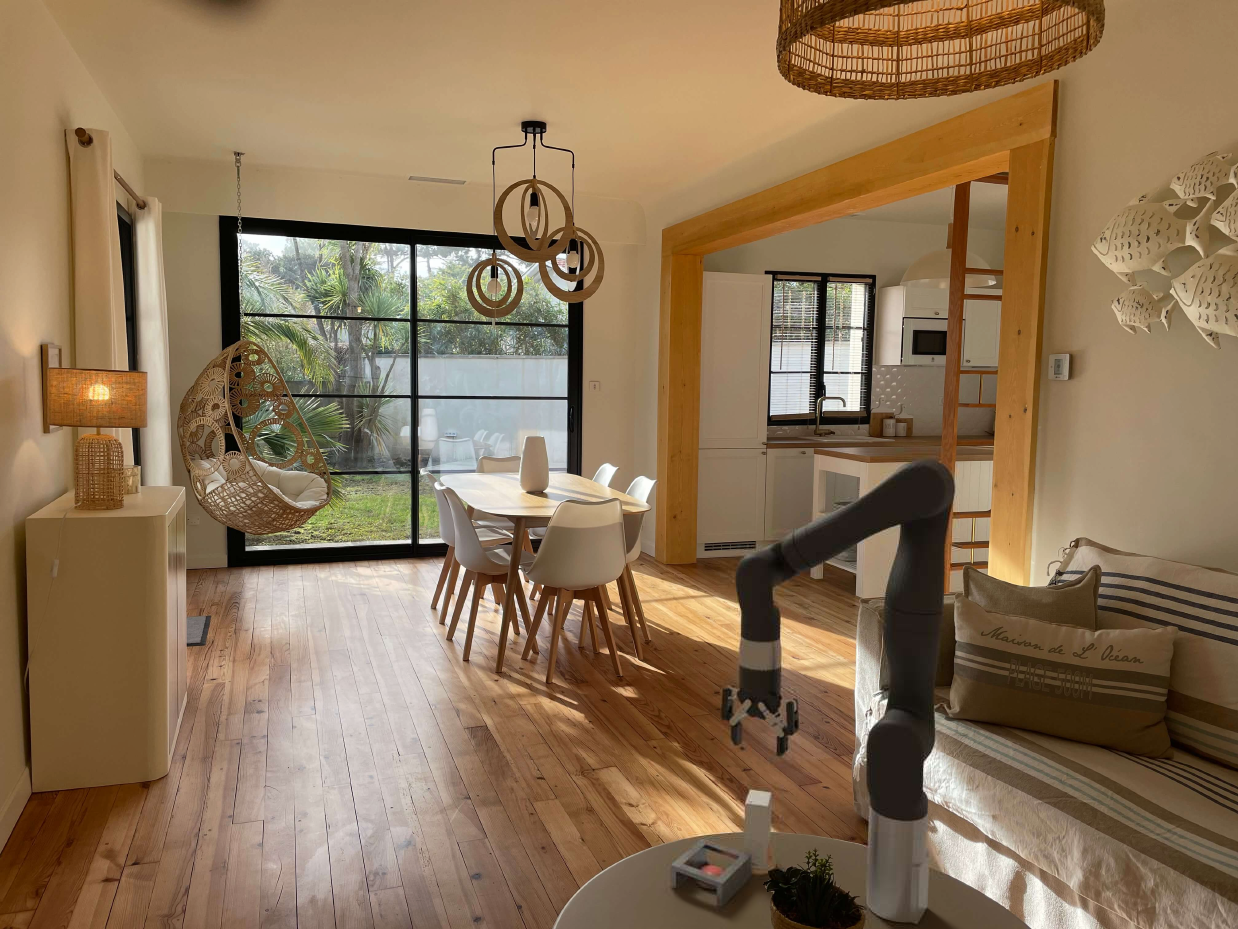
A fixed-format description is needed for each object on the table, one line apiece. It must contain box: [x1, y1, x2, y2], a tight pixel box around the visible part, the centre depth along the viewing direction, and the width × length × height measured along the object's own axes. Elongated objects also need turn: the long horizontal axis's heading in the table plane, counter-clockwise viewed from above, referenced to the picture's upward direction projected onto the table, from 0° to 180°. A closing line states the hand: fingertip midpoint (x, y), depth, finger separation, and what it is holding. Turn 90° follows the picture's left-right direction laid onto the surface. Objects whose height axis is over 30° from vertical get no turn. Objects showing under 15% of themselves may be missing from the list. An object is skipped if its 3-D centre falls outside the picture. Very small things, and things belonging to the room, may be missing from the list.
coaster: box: [742, 851, 777, 876], centre depth 160 cm, size 7×7×1 cm
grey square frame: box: [670, 838, 752, 907], centre depth 154 cm, size 10×11×4 cm
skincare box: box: [743, 789, 773, 870], centre depth 159 cm, size 6×4×12 cm
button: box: [694, 865, 725, 890], centre depth 154 cm, size 6×6×1 cm
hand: (758, 749), depth 158 cm, fingers open, 8 cm apart
